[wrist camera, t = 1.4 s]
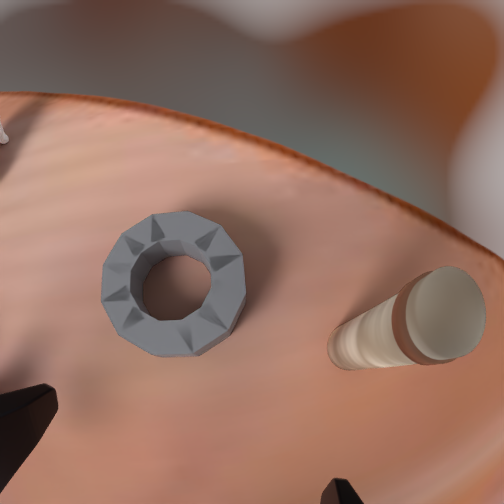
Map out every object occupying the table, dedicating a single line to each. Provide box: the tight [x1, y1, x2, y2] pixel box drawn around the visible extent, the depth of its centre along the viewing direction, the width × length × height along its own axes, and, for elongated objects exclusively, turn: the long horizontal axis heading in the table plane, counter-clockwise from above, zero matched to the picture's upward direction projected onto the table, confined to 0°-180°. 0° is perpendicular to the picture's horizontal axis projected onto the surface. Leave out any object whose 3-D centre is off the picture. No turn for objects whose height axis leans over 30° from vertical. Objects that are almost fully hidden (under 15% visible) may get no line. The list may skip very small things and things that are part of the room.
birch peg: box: [327, 266, 486, 370], centre depth 16 cm, size 4×4×13 cm
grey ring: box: [101, 211, 246, 357], centre depth 22 cm, size 10×10×3 cm
